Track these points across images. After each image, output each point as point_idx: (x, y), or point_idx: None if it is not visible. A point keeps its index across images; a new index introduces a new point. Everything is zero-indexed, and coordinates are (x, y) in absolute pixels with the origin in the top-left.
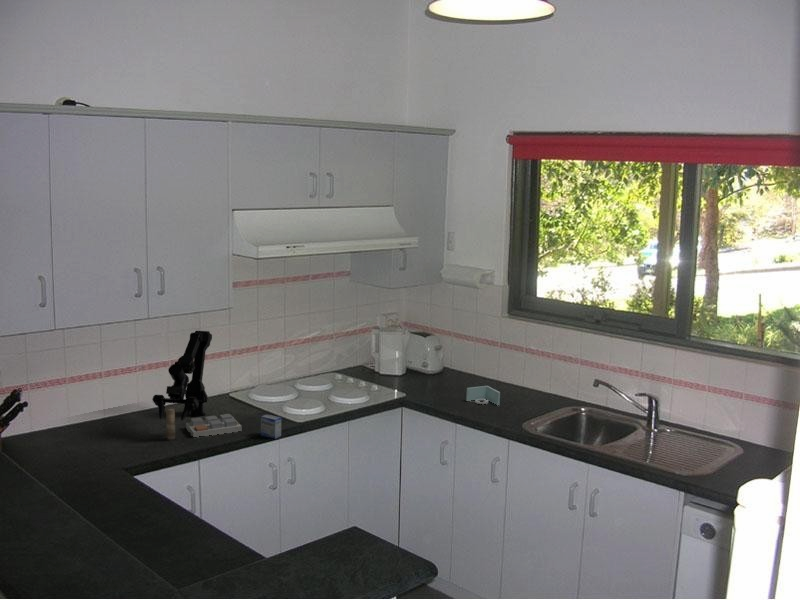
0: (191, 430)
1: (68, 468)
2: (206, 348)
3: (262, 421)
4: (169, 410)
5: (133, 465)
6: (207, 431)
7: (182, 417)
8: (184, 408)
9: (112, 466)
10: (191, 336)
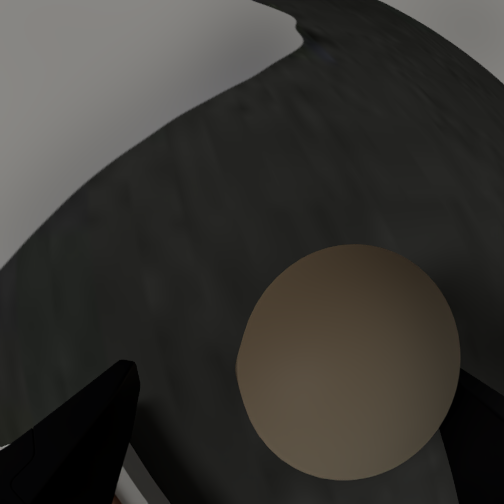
0: (126, 468)
1: (456, 68)
2: None
3: None
4: (372, 302)
5: (309, 51)
6: None
7: (104, 374)
8: (24, 489)
9: (369, 53)
10: None
